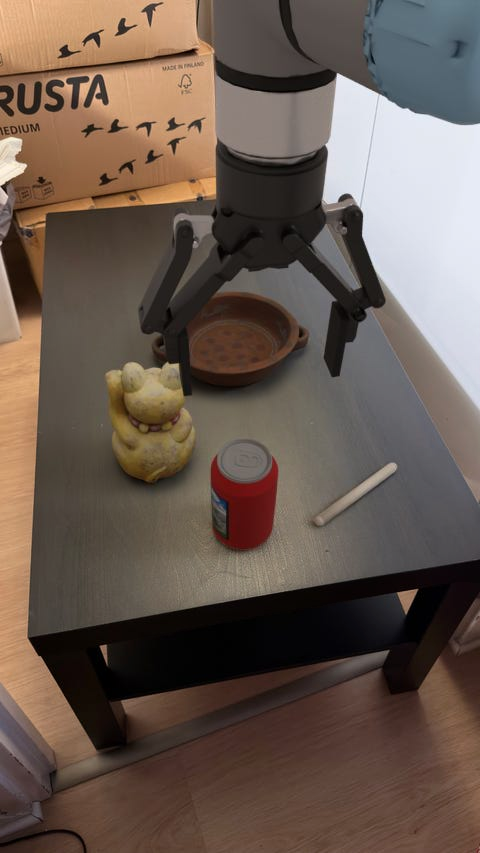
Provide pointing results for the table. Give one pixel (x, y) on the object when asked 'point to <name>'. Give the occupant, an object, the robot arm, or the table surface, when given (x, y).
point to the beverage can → (243, 493)
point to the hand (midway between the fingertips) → (259, 376)
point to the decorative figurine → (149, 421)
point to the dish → (239, 339)
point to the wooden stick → (355, 494)
